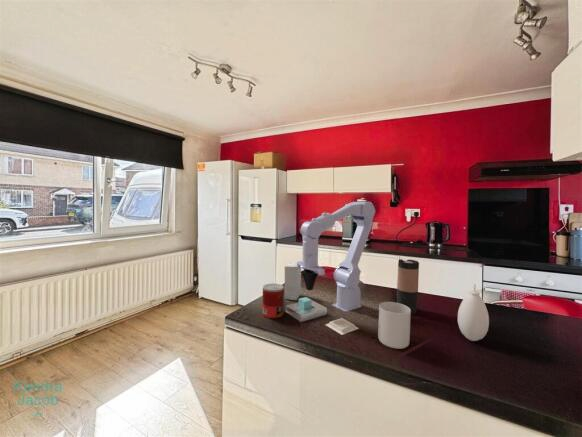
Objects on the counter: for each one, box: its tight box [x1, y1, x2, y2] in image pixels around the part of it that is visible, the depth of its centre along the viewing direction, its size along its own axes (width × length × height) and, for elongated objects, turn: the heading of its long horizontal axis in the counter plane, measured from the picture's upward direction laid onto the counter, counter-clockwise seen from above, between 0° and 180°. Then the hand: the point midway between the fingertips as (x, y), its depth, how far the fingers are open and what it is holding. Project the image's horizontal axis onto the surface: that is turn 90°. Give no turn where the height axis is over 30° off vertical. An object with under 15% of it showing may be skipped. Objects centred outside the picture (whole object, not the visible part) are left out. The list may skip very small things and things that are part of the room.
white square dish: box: [324, 317, 360, 336], centre depth 86 cm, size 8×8×2 cm
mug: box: [377, 301, 412, 350], centre depth 78 cm, size 12×9×11 cm
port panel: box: [285, 299, 328, 323], centre depth 96 cm, size 12×10×3 cm
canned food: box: [262, 283, 285, 319], centre depth 95 cm, size 8×8×11 cm
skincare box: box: [284, 262, 302, 301], centre depth 114 cm, size 8×6×15 cm
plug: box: [297, 296, 312, 310], centre depth 96 cm, size 4×4×6 cm
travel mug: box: [396, 259, 420, 315], centre depth 101 cm, size 8×8×20 cm
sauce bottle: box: [457, 283, 490, 342], centre depth 79 cm, size 8×8×18 cm
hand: (309, 289), depth 95 cm, fingers closed
